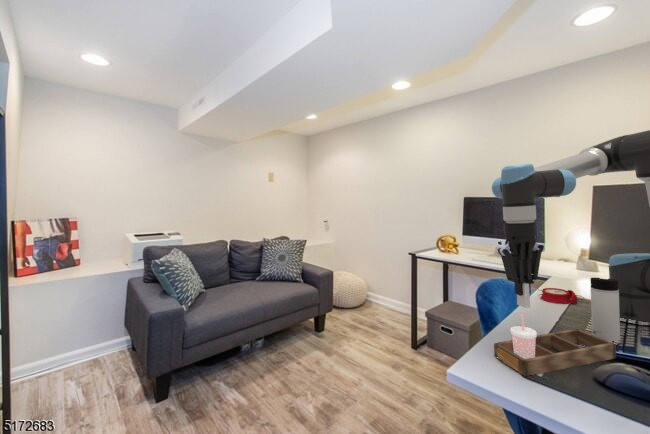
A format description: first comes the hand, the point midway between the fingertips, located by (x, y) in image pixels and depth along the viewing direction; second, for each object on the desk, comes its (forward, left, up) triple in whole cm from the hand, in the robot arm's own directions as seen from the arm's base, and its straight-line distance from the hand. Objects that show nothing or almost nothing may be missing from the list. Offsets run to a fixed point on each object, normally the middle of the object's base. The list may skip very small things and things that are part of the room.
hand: (523, 305), depth 81 cm
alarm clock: (-38, -51, -17) cm, 65 cm away
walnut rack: (-9, -3, -16) cm, 19 cm away
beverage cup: (0, 0, -16) cm, 16 cm away
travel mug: (-29, -13, -16) cm, 36 cm away
